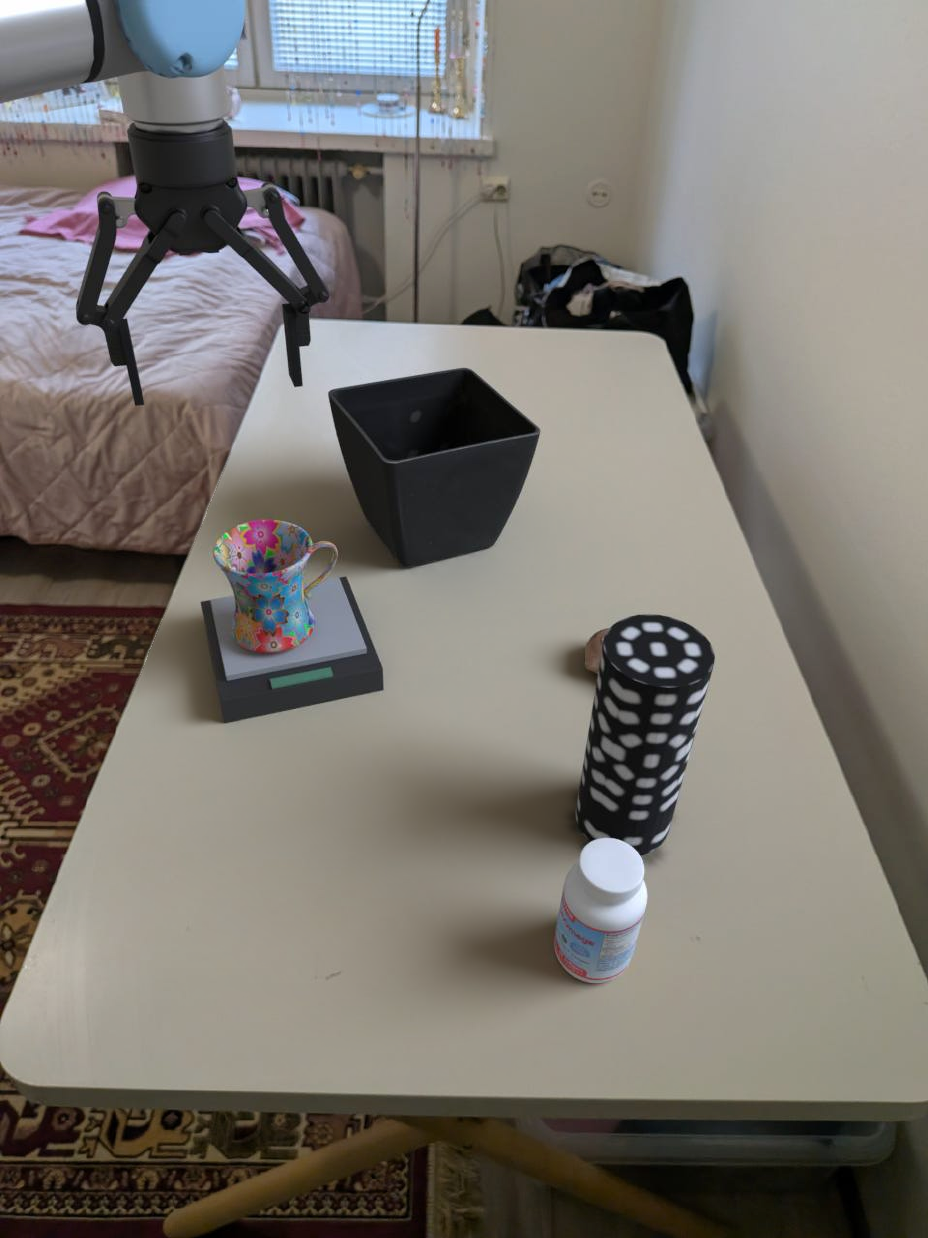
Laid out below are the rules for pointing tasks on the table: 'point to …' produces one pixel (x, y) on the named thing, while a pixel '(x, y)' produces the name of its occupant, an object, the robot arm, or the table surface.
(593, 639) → the oil lamp
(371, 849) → the table surface
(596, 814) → the spotted tube
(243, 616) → the mug
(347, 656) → the scale
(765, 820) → the table surface
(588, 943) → the pill bottle
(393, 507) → the flower pot
